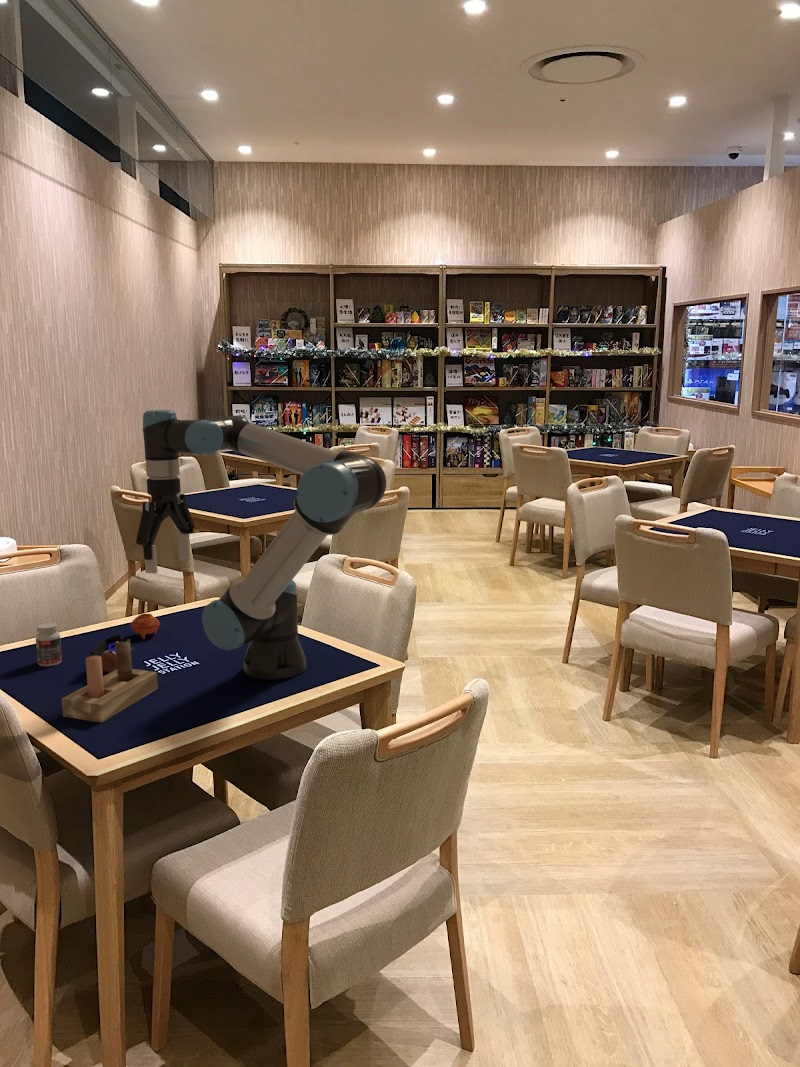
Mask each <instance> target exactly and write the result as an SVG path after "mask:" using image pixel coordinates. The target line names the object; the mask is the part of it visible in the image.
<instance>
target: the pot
mask: <svg viewBox="0 0 800 1067" xmlns="http://www.w3.org/2000/svg"><path fill="white" fill-rule="evenodd" d="M160 626H161V622H160V620H158V618H156V617H155V616H153V614H151V613H141V614H138V616H136V617H135V618H134V619H133V620H132V621H131V623H130V628H131V629H132V631H133V632H135V633H136V634H137V635H140V636H141V638H142V640H145V638H146V635H149V634H152V633H153V635H156V634H157V631H158V629H159V627H160Z"/></svg>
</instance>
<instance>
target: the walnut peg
mask: <svg viewBox="0 0 800 1067" xmlns="http://www.w3.org/2000/svg"><path fill="white" fill-rule="evenodd" d="M115 647H116V660H117V674H118V681H123V682H129V681H130V680H132V679H133V676H132V669H133V665H132V664H133V662H132V651H131V647H132V646H131V641H130V642H127V640H125V641H124V640H123V642H118V643H116V644H115Z"/></svg>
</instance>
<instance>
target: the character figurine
mask: <svg viewBox="0 0 800 1067" xmlns="http://www.w3.org/2000/svg"><path fill="white" fill-rule="evenodd" d="M123 641H124V640H123V637H122V636H121V634H120V633H119V634H116V635H114V636H111V637H108V638H104V639H103V640H102V641H101V642H100V643H99V644H97V645H96V646H95V647H94V648H93V649H91V651H90V656H101V658H102V672H103V676H105V675H107V674H109V673H111V672H113V671H115V670H117V660H116V647H115V644H116V643H118V642H123ZM126 641H127V642H130V643H131V641H132V640H131V639H130V638H128V639H127V640H126ZM130 647H131V652H132V651H133V650H134V647H133V646H130Z"/></svg>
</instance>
